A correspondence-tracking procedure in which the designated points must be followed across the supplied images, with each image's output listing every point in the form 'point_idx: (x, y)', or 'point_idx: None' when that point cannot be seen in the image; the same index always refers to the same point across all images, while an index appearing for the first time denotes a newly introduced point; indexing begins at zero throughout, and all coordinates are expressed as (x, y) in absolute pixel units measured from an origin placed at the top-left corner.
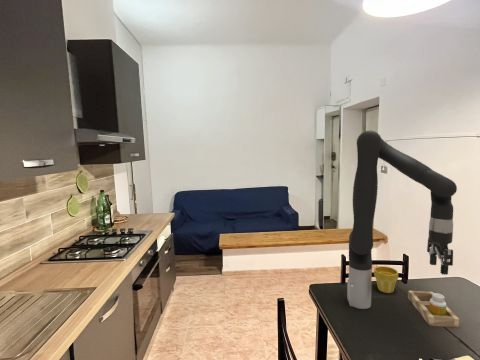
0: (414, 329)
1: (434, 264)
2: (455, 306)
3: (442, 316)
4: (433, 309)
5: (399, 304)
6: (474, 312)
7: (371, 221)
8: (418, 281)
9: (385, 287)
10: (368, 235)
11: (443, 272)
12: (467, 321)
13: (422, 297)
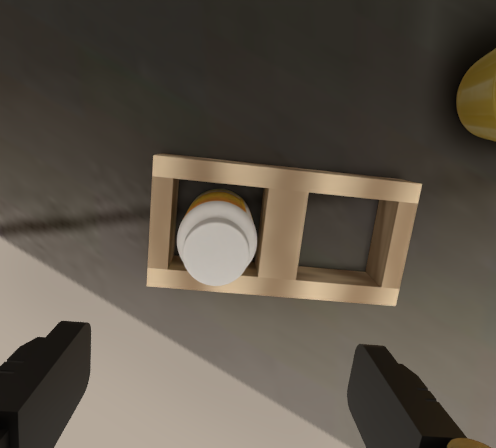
0: (124, 61)
1: (352, 386)
2: (315, 351)
3: (162, 221)
4: (198, 201)
5: (341, 100)
6: (269, 395)
7: None
8: None
9: (481, 67)
10: None
11: (25, 346)
12: (203, 331)
13: (378, 242)
